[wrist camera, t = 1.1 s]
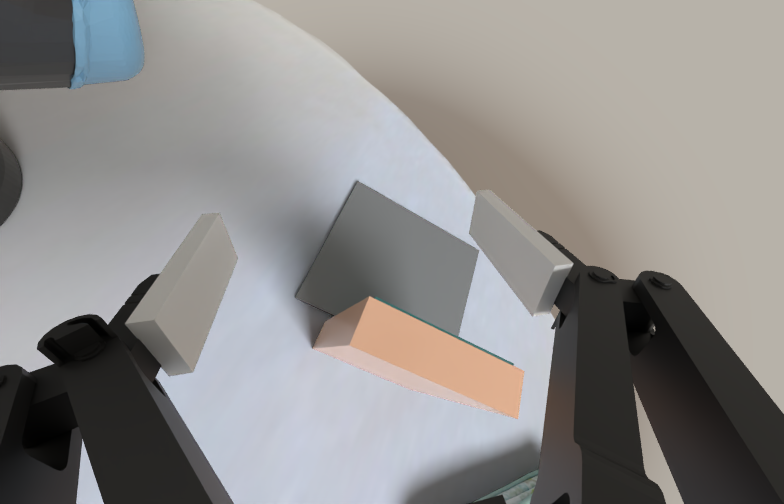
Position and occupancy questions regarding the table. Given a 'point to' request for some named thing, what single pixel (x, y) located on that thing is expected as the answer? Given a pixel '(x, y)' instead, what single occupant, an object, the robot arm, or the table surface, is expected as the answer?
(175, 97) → the table surface
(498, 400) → the terracotta slab
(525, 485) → the towel
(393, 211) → the charcoal mat
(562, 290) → the robot arm
